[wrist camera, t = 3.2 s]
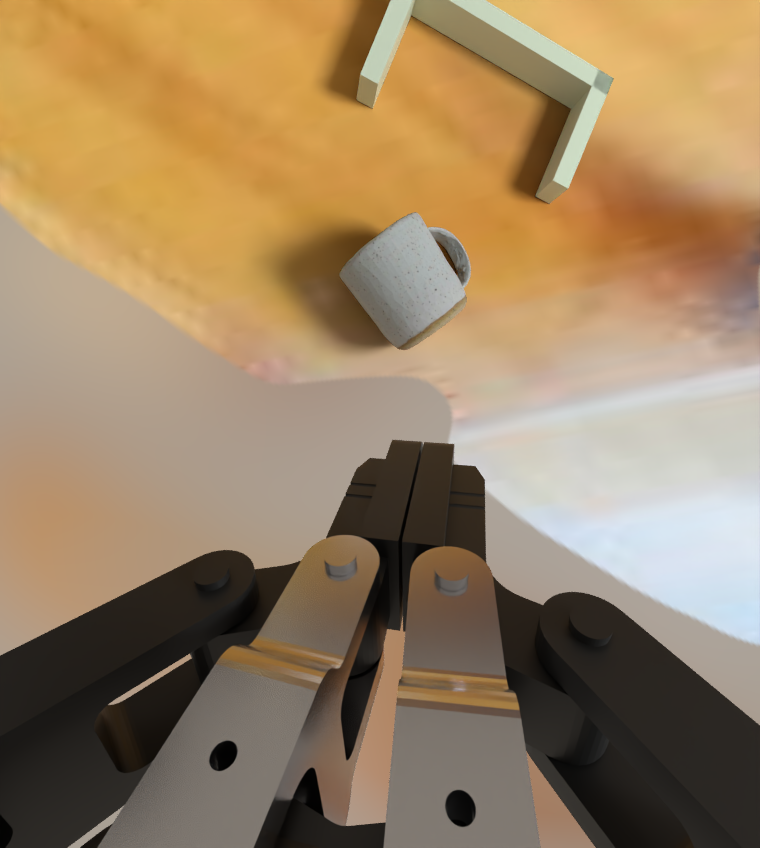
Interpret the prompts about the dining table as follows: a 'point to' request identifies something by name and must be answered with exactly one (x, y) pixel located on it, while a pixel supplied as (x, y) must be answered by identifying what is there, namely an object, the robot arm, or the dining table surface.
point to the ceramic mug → (409, 280)
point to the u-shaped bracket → (510, 50)
